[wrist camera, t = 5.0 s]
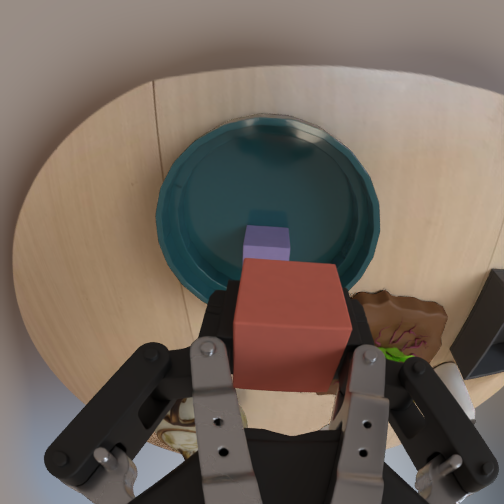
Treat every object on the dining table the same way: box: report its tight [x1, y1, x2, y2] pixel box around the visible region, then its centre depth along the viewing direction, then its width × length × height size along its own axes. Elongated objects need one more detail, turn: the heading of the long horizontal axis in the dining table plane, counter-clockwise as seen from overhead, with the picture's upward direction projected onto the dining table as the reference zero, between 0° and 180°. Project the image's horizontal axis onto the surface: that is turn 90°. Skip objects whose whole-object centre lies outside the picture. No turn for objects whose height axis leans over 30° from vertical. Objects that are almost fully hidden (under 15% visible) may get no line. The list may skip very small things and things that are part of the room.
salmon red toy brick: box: [233, 258, 352, 392], centre depth 12 cm, size 4×4×4 cm
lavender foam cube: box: [242, 225, 290, 267], centre depth 28 cm, size 4×4×4 cm
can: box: [434, 362, 476, 425], centre depth 36 cm, size 6×6×12 cm
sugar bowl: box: [155, 397, 248, 460], centre depth 39 cm, size 20×15×15 cm
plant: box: [316, 290, 448, 403], centre depth 33 cm, size 20×20×11 cm
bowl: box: [155, 113, 380, 304], centre depth 27 cm, size 19×19×4 cm
